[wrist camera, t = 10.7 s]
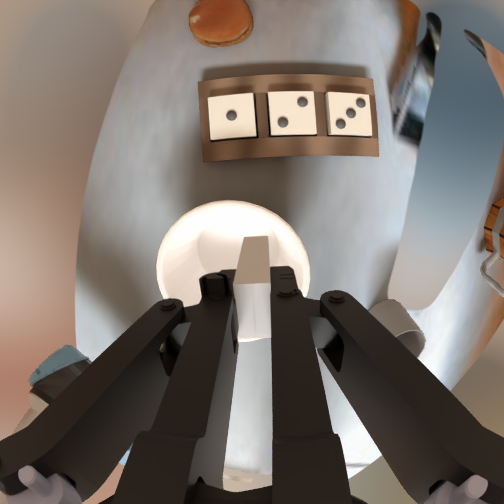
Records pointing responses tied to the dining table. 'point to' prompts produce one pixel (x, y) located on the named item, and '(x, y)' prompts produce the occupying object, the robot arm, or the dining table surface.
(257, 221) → the bowl
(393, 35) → the dining table surface
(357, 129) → the tile three
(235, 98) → the tile one
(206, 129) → the board
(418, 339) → the cup
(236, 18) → the burger
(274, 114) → the tile two
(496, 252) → the mug
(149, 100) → the dining table surface
